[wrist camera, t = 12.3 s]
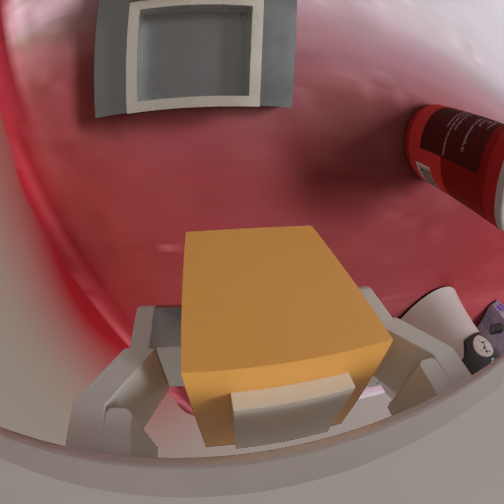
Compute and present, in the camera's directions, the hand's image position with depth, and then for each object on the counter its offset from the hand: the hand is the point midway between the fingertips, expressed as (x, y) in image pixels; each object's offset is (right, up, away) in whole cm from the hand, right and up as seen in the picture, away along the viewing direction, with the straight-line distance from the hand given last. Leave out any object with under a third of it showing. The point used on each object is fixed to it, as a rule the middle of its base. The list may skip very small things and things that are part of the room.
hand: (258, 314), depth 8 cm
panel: (-4, +20, +2) cm, 20 cm away
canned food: (+16, +12, +12) cm, 24 cm away
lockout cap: (0, +1, +1) cm, 2 cm away
